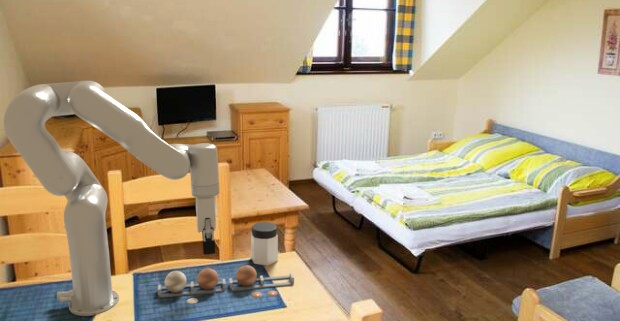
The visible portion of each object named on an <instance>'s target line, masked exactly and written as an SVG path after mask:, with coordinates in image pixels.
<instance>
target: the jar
mask: <svg viewBox="0 0 620 321" xmlns="http://www.w3.org/2000/svg"><path fill="white" fill-rule="evenodd" d="M250 242H251V243H250V245H251V247H250V250H251V251H250V252H251V253H250V254H251V260H252V262H253V264H254V265H259V266H260V265H262V266H270V265H273V264H274V263H277V262H278V261H279V254H278V253H279V252H278V251H279V236H278V225H277V224H276V223H273V222H268V221H267V222H266V221H265V222H264V221H263V222H262V221H261V222H260V221H259V222H256V223H254V224H253V225H251V233H250Z"/></svg>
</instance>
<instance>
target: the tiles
mask: <svg viewBox="0 0 620 321" xmlns="http://www.w3.org/2000/svg"><path fill="white" fill-rule="evenodd" d="M278 293H279V292H278V291H277V290H269V291H266V294H267V296H270V297H274V296H277V295H278ZM262 296H263V293H262V292H260V291H255V292H254V291H253V292H252V293H251V297H252V298H261V297H262ZM198 302H199V299H198V298H195V297H191V298H188V299H187V300H186V303H187V304H190V305H193V304H197V303H198Z"/></svg>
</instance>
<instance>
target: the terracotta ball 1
mask: <svg viewBox="0 0 620 321" xmlns="http://www.w3.org/2000/svg"><path fill="white" fill-rule="evenodd" d="M219 279H220V278H219V274H218V272H217V271H216V270H215V269H213V268H209V267H206V268H204V269H201V271H200V272H198V275H197V278H196V280H197V284H199V286H200V287H199V288H201V289H202V290H210V289H215V287H216V286H218V285H217V283H218V282H219V281H220V280H219Z"/></svg>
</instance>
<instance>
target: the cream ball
mask: <svg viewBox="0 0 620 321" xmlns="http://www.w3.org/2000/svg"><path fill="white" fill-rule="evenodd" d="M186 284H187V277H186V275H185V273H183V272H182V271H180V270H173V271H171V272H169V273H168V274H167V275H166V277H165V279H164V286H165V287H166V288H167V289H168V290H167V291H169V293H177V292H183V290H184V289H185V288H184V287H185V286H186Z"/></svg>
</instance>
